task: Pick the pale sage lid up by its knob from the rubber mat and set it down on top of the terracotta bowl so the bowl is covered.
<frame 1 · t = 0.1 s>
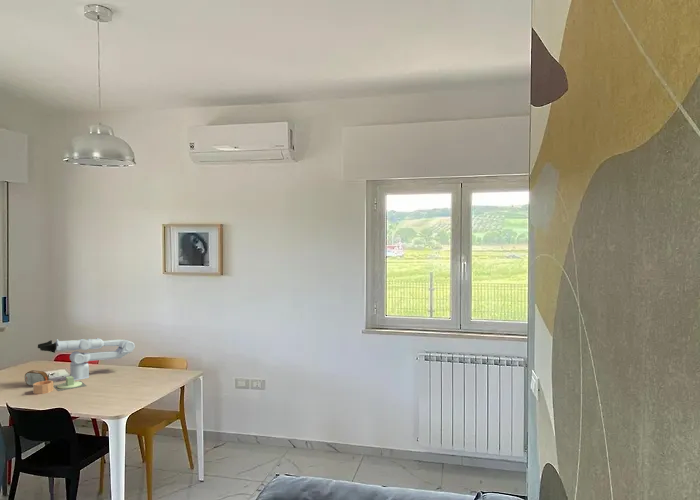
hand: (39, 347, 271), 22 cm above the table, tool horizontal, fingers open, 7 cm apart
tin: (36, 386, 270), on the table
lid: (69, 385, 268), resting on mat
bowl: (43, 392, 258), on the table
mat: (69, 386, 268), on the table
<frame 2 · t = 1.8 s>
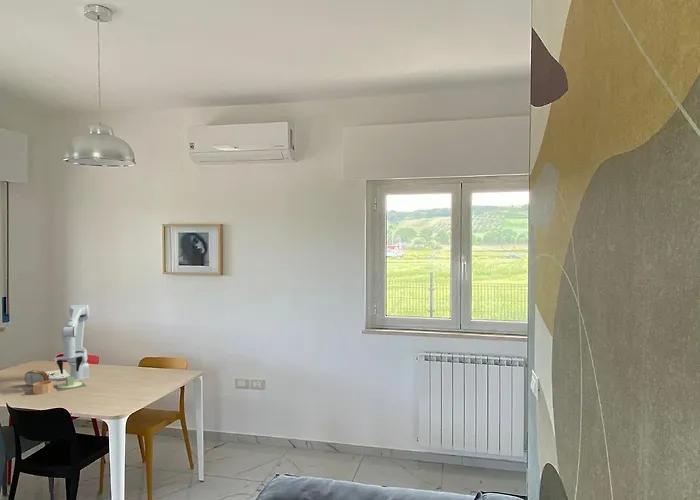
hand: (69, 372, 268), 8 cm above the table, tool pointing down, fingers open, 7 cm apart
nothing on the table moved.
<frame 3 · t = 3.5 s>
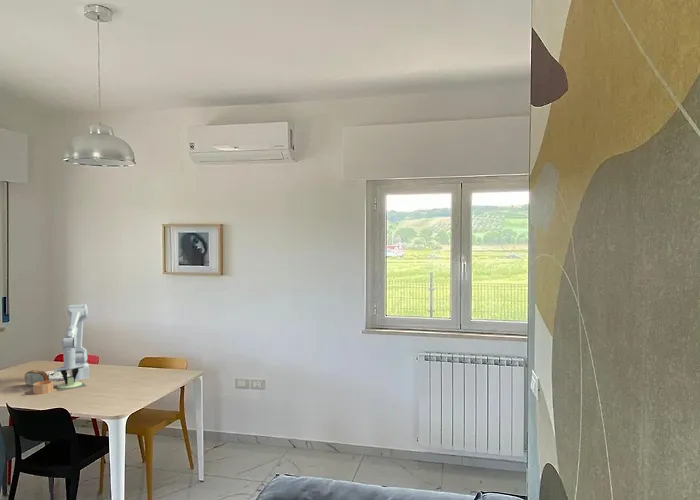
hand: (69, 383, 268), 2 cm above the table, tool pointing down, fingers closed on lid, 3 cm apart
lid: (69, 385, 268), resting on mat, touching gripper
everything else where it was.
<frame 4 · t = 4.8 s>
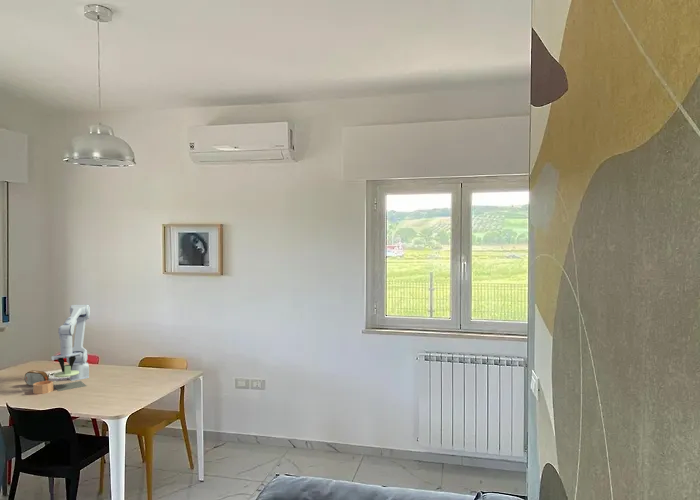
hand: (66, 370, 267), 9 cm above the table, tool pointing down, fingers closed on lid, 3 cm apart
lid: (66, 374, 267), point 7 cm above the table, touching gripper
everything else where it was.
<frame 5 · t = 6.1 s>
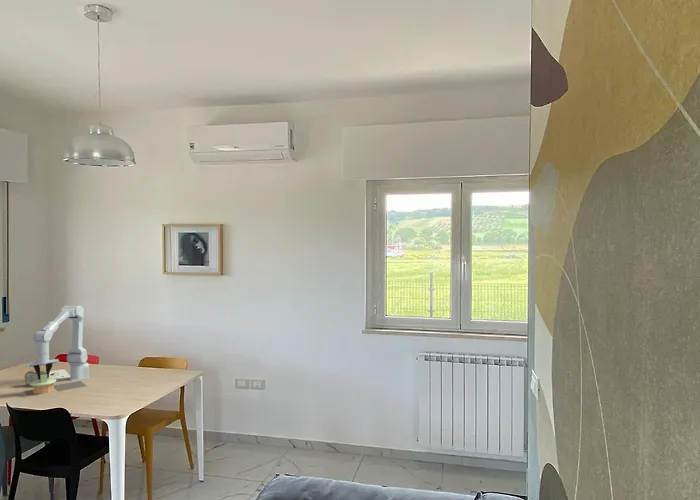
hand: (43, 378, 258), 7 cm above the table, tool pointing down, fingers closed on lid, 3 cm apart
lid: (43, 382, 258), point 5 cm above the table, touching bowl, gripper
everything else where it was.
when the fingers open (7 cm above the table, at t = 6.5 s): lid stays where it is, resting on bowl.
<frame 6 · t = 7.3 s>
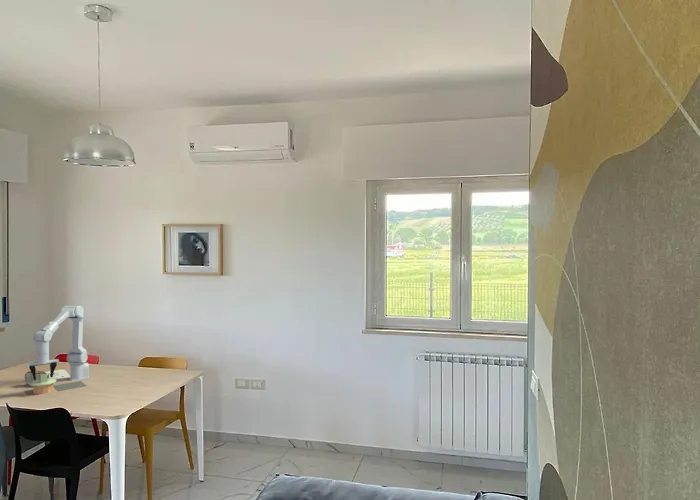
hand: (43, 378, 258), 7 cm above the table, tool pointing down, fingers open, 7 cm apart
lid: (43, 382, 258), point 5 cm above the table, touching bowl
everything else where it was.
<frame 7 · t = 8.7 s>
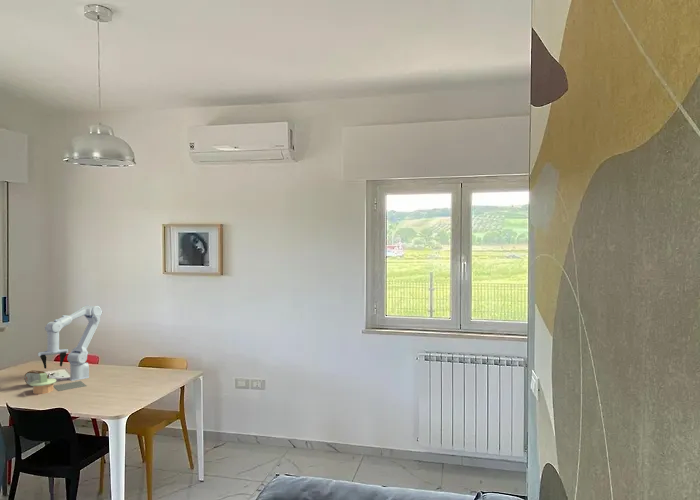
hand: (53, 367, 270), 10 cm above the table, tool pointing down, fingers open, 7 cm apart
nothing on the table moved.
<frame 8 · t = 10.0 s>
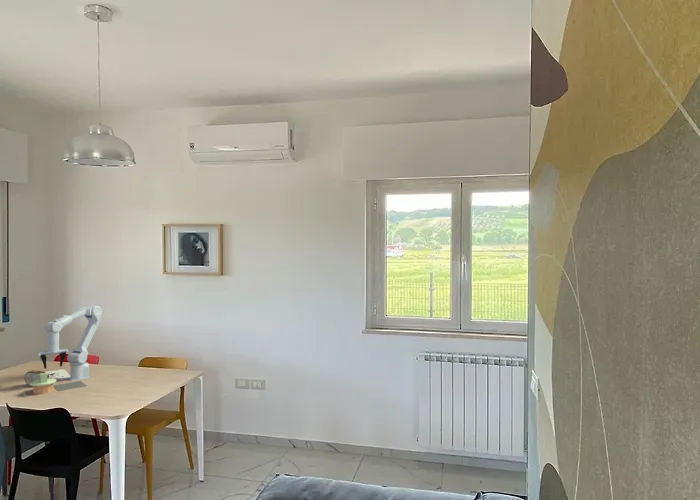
hand: (53, 367, 270), 10 cm above the table, tool pointing down, fingers open, 7 cm apart
nothing on the table moved.
at the end: lid 0.1 cm off-centre on the bowl, point 5.0 cm above the bowl's base; lid tilted 0°; the gripper is holding nothing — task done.
